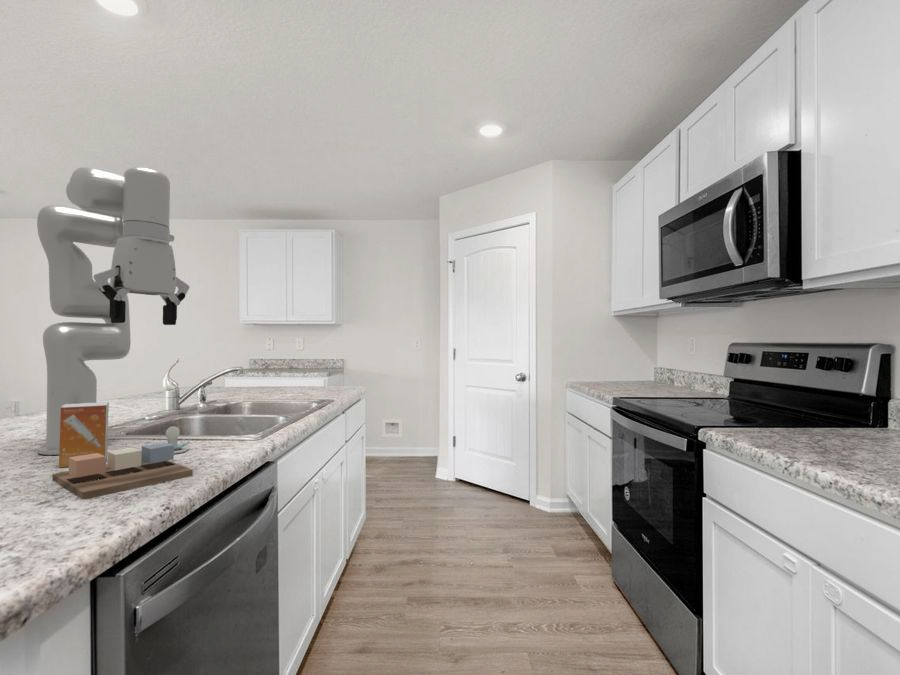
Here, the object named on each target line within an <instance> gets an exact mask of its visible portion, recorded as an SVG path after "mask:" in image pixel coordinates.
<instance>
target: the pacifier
mask: <svg viewBox="0 0 900 675" xmlns="http://www.w3.org/2000/svg"><path fill="white" fill-rule="evenodd" d="M180 432H181V431H180V429H179V427H177V426H175V425H174V426H169V427H168V428H166V431H165V437H166V439H167V443H168V444H172V445H174V455H175V454H177V455H178V454H182V453H185V452H187V450H188V449H186V448H184V447H186V446H187V445H188V444H190V440H187V441H185V442H182V443H180V444H178V442H179V440H178V439H179V436H180ZM154 444H157V443H154Z"/></svg>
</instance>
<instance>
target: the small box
mask: <svg viewBox="0 0 900 675" xmlns="http://www.w3.org/2000/svg"><path fill="white" fill-rule="evenodd" d="M109 408H110V402H109V401H104V402H103V401H102V402H101V401H100V402H96V403H80V404H64V405H63V406H62V407H61V411H60V441H59V455H58V467H59V468H64V467H65V468H66V467H67V468H68V467H69V457H75V456H81V455H88V454H94V453H99V454H101V455H103V456H106V459H105V462H107V451H109V446H108V445H109V443H108V442H109V410H110V409H109Z"/></svg>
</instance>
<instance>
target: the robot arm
mask: <svg viewBox="0 0 900 675" xmlns="http://www.w3.org/2000/svg"><path fill="white" fill-rule="evenodd" d="M65 193H66V196H67V198H68V201H69V202H70V203H71V204H72V205H73V206H69V205H68V206H67V205H59V204H51V205H50V204H49V205H46V206H43V207H42V208H40V210H39V211H38V213H37V217H36V218H37V219H36V227H37V228H36V230H37V234H38V237H39V241H40V244H41V247H42V249H43V251H44V253H45V257H46V258H47V263H48V264H47V265H48V283H49V285H48V286H49V303H50V307H51V311H52V312H53V313H54V314H56V315H57V316H59V317H65V318H73V319H74V318H77V319H78V318H79V319H101V320H104V322H105V323H103V322H102V323H99V322H79V321H78V322H76V321H68V322H67V321H65V322H57V323H54V324H50V325H48V327H47V328H45V329H44V332H43V334H42V345H43V350H44V355H45V363H46V382H47V383H46V426H45V427H46V430H45V432H46V434H45V438H46V439H45V443H46V444H44V445H41V446H38V447H37V450H36V451H37V454H39V455H44V456H46V455H47V456H53V455H54V456H59V441H60V411H61V407H62V406H63V405H64V404H80V403H97V386H98V385H97V384H98V383H97V376H96V374H95V372H94V371H93V370H92V369H91V368H90V366H88V365H86V363H85V362H86V361H106V360H107V361H108V360H121V359H124V358H125V357H127V356H128V355H129V353H130V350H131V341H132V340H131V339H132V338H131V321H130V320H131V319H130V317H131V316H130V303H129V302H130V301H129V296H128V294H136V295H145V296H146V295H147V296H160V298H161V299H162V300H163V302H164V303H165V304H164V305H163V306H162V325H165V326H174V325H176V324H177V319H178V306H180V305H181V302H183V300H184V299H185V298H186V295H187V293H188V291H189V290H190V285H189V284H187V283H186V282H184V281H183V280H181V279H180V278H179V277H177V273H176V269H177V268H176V260H175V254H174V250H173V246H172V245H170V242H174V241H175V236H174V235H173V234H170V208H171V207H170V206H171V204H170V203H171V201H170V199H171V198H170V197H171V182H170V179H169V177H168V176H167V175H166V174H165V173H163V172H161V171H159V170H156V169H151V168H147V167H139V166H138V167H130V168H128V169H126V170H125V171H124V173H123V174H119V173H116V172H115V173H114V172H111V171H106V170H102V169H98V168H94V167H78V168H76V169H75V170H74V171H73V172H72V174H71V176H70V179H69V182H68V183H67V184H66V188H65ZM75 243H77V244H85V245H93V246H100V247H106V248H114V250H113V254H112V258H111V265H110V266H111V267H110V269H107V270H104V271H101V272H98V273H96V274H94V275H93V264H92V261H91V260H90V258H89V257H88V256H87V254H86V253H85V252H84V251H83V250H82V249H81V248H80V247H79V246H77V244H75ZM108 280H110V282H109V281H108ZM176 287H177V292H176ZM175 292H176V293H175Z"/></svg>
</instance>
